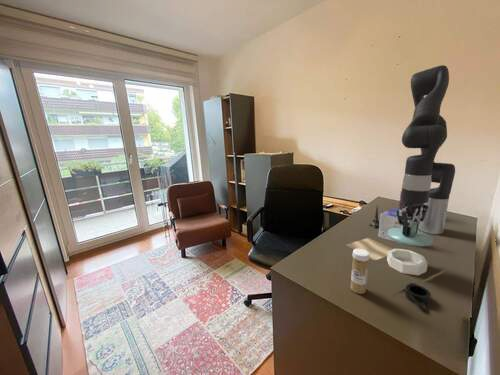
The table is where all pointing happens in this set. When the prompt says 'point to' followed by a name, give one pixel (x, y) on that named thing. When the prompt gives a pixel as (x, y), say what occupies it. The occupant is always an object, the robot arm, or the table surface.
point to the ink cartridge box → (388, 223)
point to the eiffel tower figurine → (375, 220)
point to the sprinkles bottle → (359, 270)
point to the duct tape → (417, 295)
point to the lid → (413, 239)
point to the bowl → (407, 261)
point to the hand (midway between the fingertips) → (409, 234)
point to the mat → (371, 248)
